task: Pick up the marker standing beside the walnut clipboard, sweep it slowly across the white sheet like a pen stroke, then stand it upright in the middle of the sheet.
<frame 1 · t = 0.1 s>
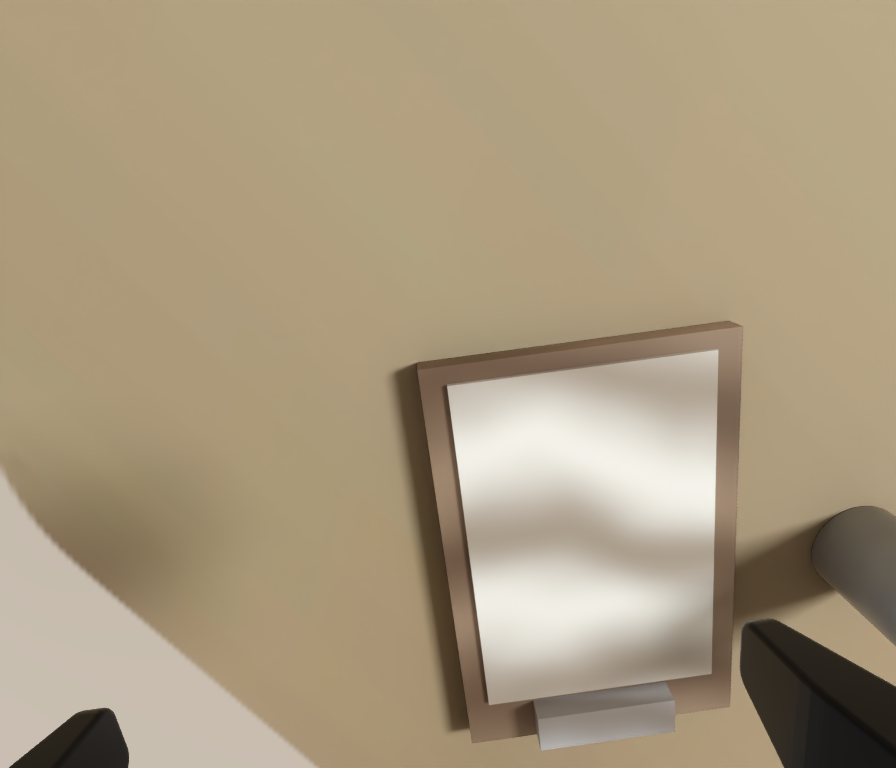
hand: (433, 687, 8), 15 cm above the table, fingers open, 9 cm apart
marker: (856, 546, 25), on the table
clipboard: (585, 544, 25), on the table
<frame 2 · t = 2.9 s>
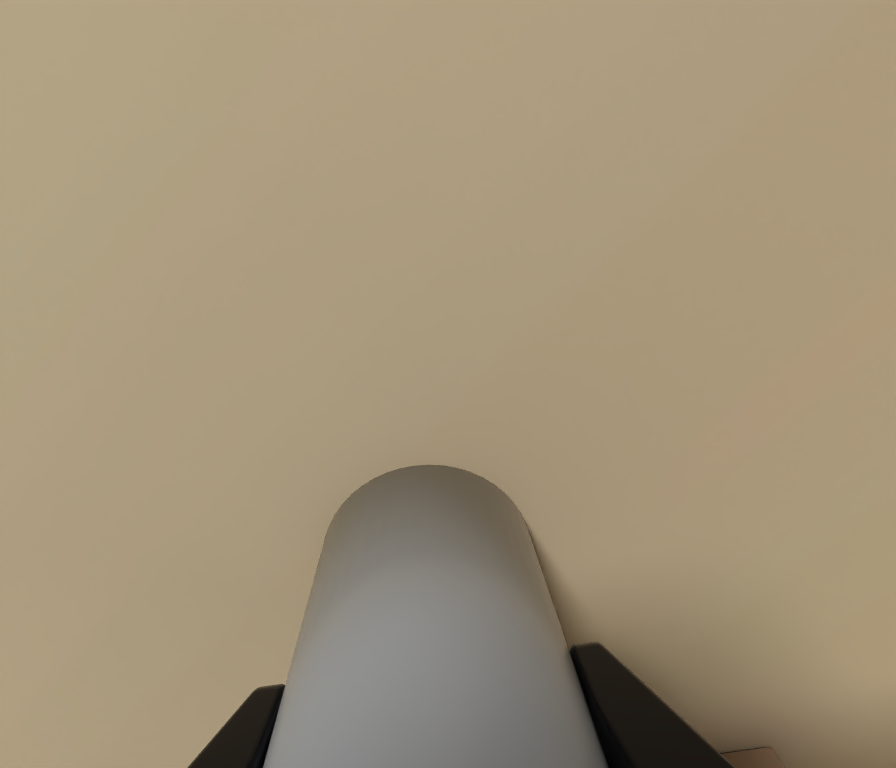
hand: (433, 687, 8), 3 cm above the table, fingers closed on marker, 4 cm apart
marker: (428, 559, 11), on the table, touching gripper
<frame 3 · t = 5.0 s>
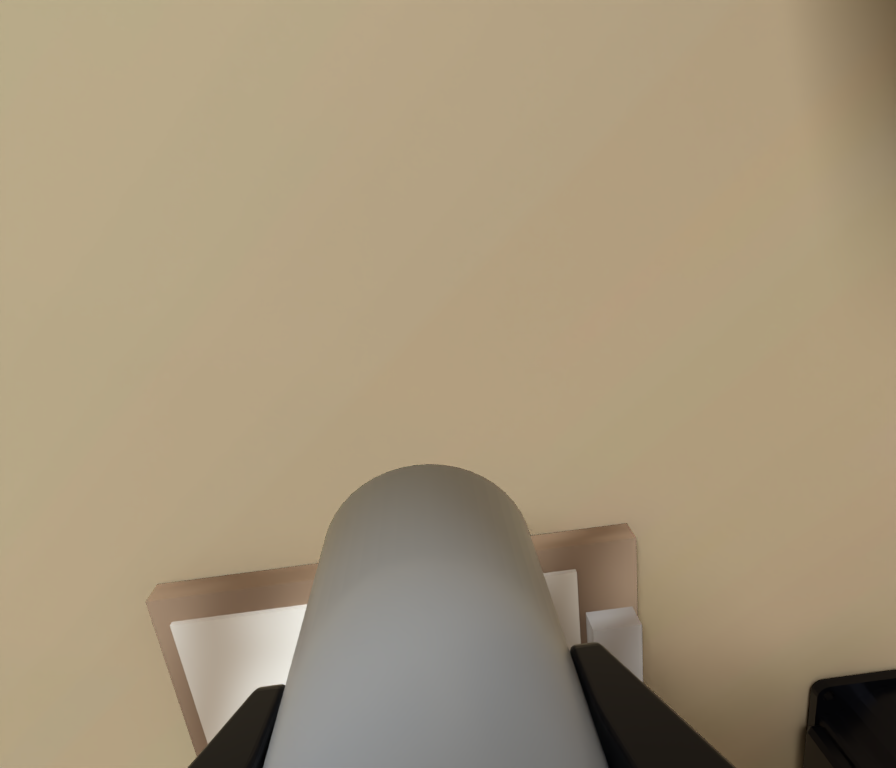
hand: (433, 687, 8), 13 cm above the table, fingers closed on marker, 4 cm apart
marker: (428, 559, 11), point 10 cm above the table, touching gripper
clipboard: (414, 678, 24), on the table
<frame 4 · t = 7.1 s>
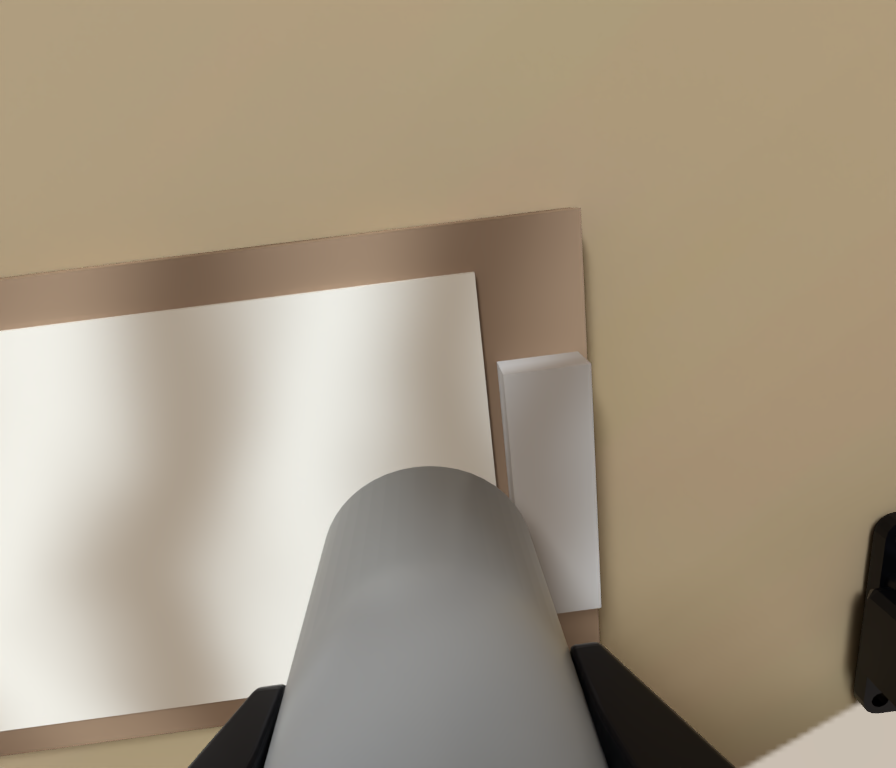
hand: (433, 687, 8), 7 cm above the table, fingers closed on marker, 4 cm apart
marker: (428, 561, 11), point 4 cm above the table, touching gripper
clipboard: (224, 501, 14), on the table
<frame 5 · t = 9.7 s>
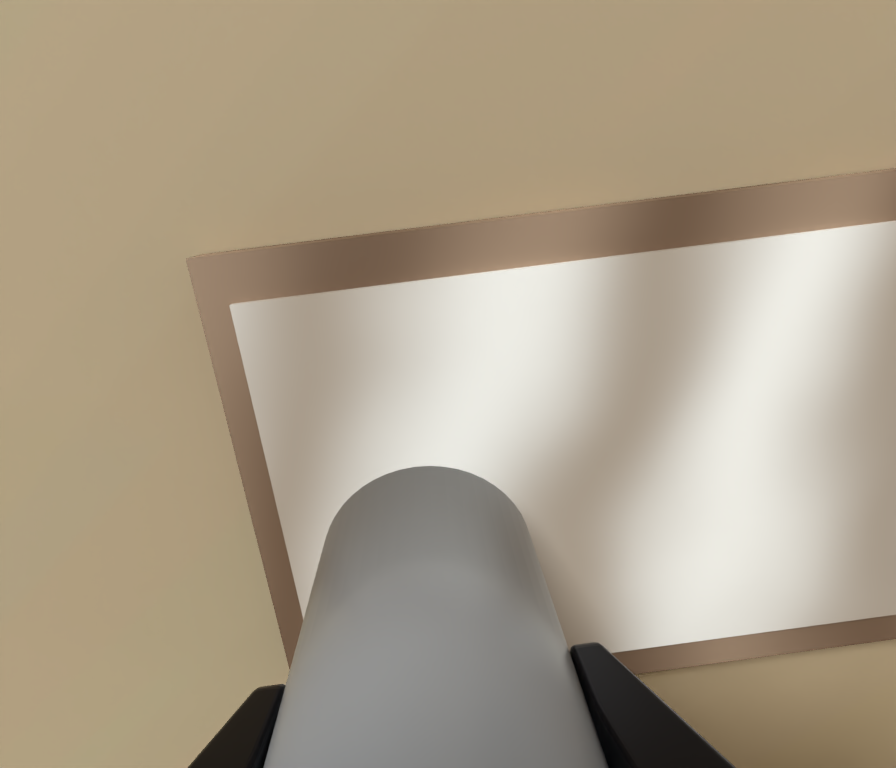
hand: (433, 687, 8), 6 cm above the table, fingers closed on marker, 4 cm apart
marker: (428, 560, 11), point 3 cm above the table, touching gripper
clipboard: (621, 452, 14), on the table
when the fingers open (5 cm above the table, at t = 11.5 s): marker drops 1 cm, resting on clipboard.
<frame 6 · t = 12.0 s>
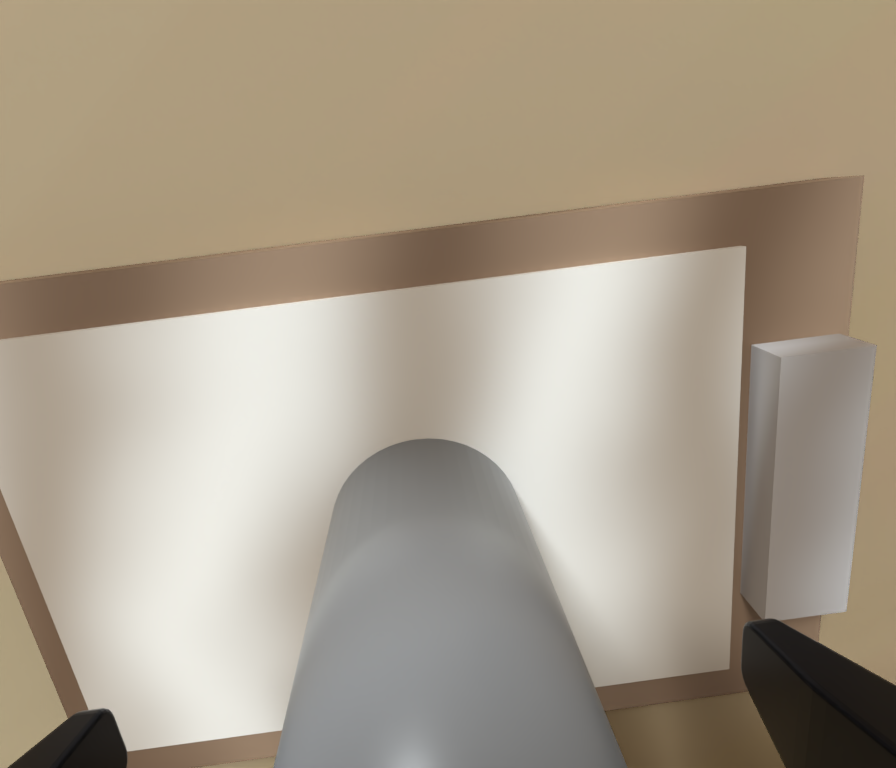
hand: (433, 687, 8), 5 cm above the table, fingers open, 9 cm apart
marker: (427, 526, 12), point 1 cm above the table, touching clipboard
clipboard: (425, 497, 13), on the table
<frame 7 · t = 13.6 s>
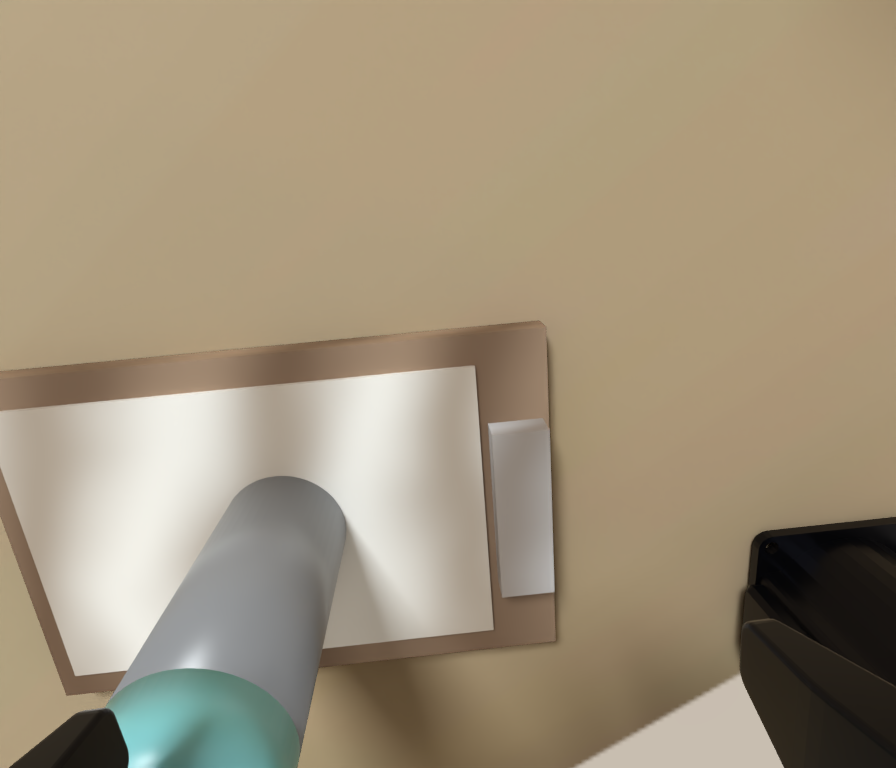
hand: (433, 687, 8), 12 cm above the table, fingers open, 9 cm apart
marker: (285, 530, 19), point 1 cm above the table, touching clipboard
clipboard: (292, 511, 20), on the table
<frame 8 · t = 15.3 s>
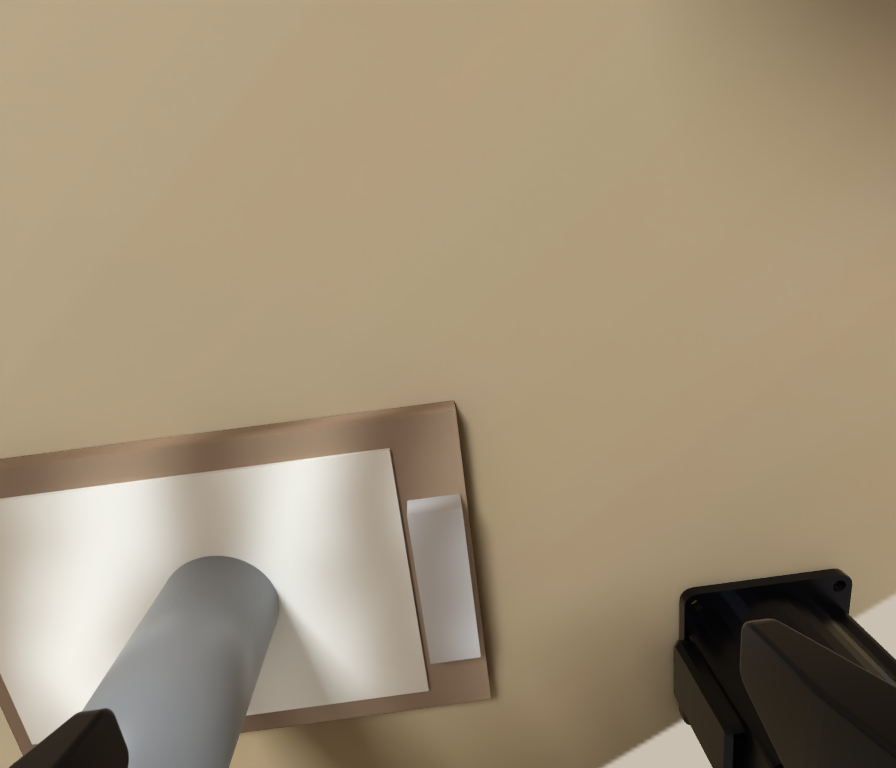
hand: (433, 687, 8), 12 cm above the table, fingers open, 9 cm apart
marker: (221, 605, 20), point 1 cm above the table, touching clipboard
clipboard: (231, 583, 21), on the table
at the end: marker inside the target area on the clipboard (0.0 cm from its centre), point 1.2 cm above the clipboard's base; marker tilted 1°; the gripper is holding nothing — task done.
